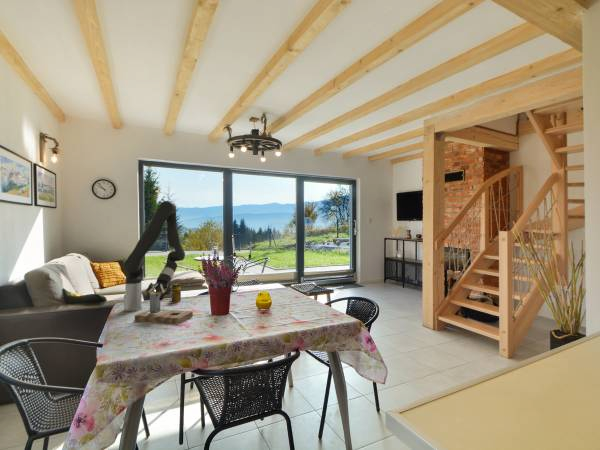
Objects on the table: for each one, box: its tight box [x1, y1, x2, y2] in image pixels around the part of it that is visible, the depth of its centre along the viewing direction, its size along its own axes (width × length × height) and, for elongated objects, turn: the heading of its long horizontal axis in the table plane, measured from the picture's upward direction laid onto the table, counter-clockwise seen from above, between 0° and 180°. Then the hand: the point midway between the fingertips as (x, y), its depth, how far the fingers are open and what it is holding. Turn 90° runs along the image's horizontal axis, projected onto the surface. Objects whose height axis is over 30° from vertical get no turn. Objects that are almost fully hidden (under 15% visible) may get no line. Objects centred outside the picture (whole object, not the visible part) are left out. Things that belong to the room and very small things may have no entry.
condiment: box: [166, 283, 183, 304], centre depth 225 cm, size 7×8×12 cm
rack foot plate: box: [134, 308, 194, 325], centre depth 185 cm, size 28×14×3 cm, turn 79°
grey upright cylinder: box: [149, 291, 161, 313], centre depth 186 cm, size 4×4×12 cm
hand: (153, 299), depth 185 cm, fingers open, 8 cm apart
